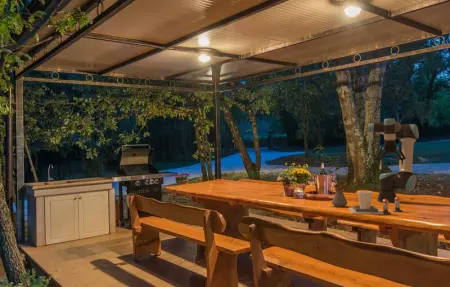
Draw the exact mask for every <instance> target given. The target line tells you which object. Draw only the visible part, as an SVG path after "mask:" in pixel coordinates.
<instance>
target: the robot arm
mask: <svg viewBox="0 0 450 287" xmlns="http://www.w3.org/2000/svg"><path fill="white" fill-rule="evenodd" d="M367 131H368V133H370V134H375V133H376V134H381V135H383V137H384V138H383V140H384V141H383V142H384V143H383V144H384V145H383V146H379V150H378V152H377V154H376V156H375V160H377V165H379V170H380V171H381V170H382V159H383V157H384V156H385V155H386V154H389V153H390V154H395V155H396V157H398V159H399V162H398V163H399V167H398V168H399V170H398V171H397V173H395V172H386V173H380V175H379V179H378V182H379V193H378V196H377V202H380V203H383V200H384V199H387V200H388V203H395V198H396V197H398V196H397V194H396V190H407V191H408V190H414V188H415V187H416V182H417V176H416V175H415V173H414V172H413V160H414V158H413V157H414V145H415V144H414V143H415V142H417V139H420V138H419V136H420V135H419V134H420V133H419V129H418V126H417V124H413V123H412V124H411V123H410V124H400V123H399V122H397V121H396V119H395V118H384V120H383V122H371V123H370V122H369V123H368V124H367ZM396 140H399V141H400V142H401V146H397V145H396V144H397V143H396V142H397V141H396ZM383 150H384V151H383ZM396 150H398V151H399V153H398V152H397V151H396ZM382 151H383V153H382ZM381 153H382V154H381Z"/></svg>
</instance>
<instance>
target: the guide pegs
mask: <svg viewBox="0 0 450 287" xmlns="http://www.w3.org/2000/svg"><path fill="white" fill-rule="evenodd" d="M400 202H401V198H400V197H398V196H397V197H396V198H395V202H394V209H392V212H393V211H394V213H403V209H401V204H400ZM382 204H383V205H382V209H383V211H382V212H383V213H384V215H388V216H389V215H391V211H389V202H388V200H387V199H384V200H383V202H382Z"/></svg>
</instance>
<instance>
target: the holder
mask: <svg viewBox="0 0 450 287" xmlns="http://www.w3.org/2000/svg"><path fill="white" fill-rule="evenodd" d="M347 210H348V211H349V212H350V213H351V215H385V214H384V213H383V211H382V210H380V209H379V208H378V207H376V206H375V205H371V206H370V209H360V205H352V207H348V209H347Z"/></svg>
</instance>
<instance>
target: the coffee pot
mask: <svg viewBox="0 0 450 287" xmlns="http://www.w3.org/2000/svg"><path fill="white" fill-rule="evenodd" d="M349 187H351V186H350V185H349V184H348V185H346V186H345V187H344V188H343V189H341V188H335V189H334V191H335V192H334V195H333V198H332V200H331V204H332V205H333V206H334V207H336V208H343V207H344V208H345V207H346V206H347V205H348V201H347V199H346V196H345V193H344V192H345V191H346V190H348V188H349Z"/></svg>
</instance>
